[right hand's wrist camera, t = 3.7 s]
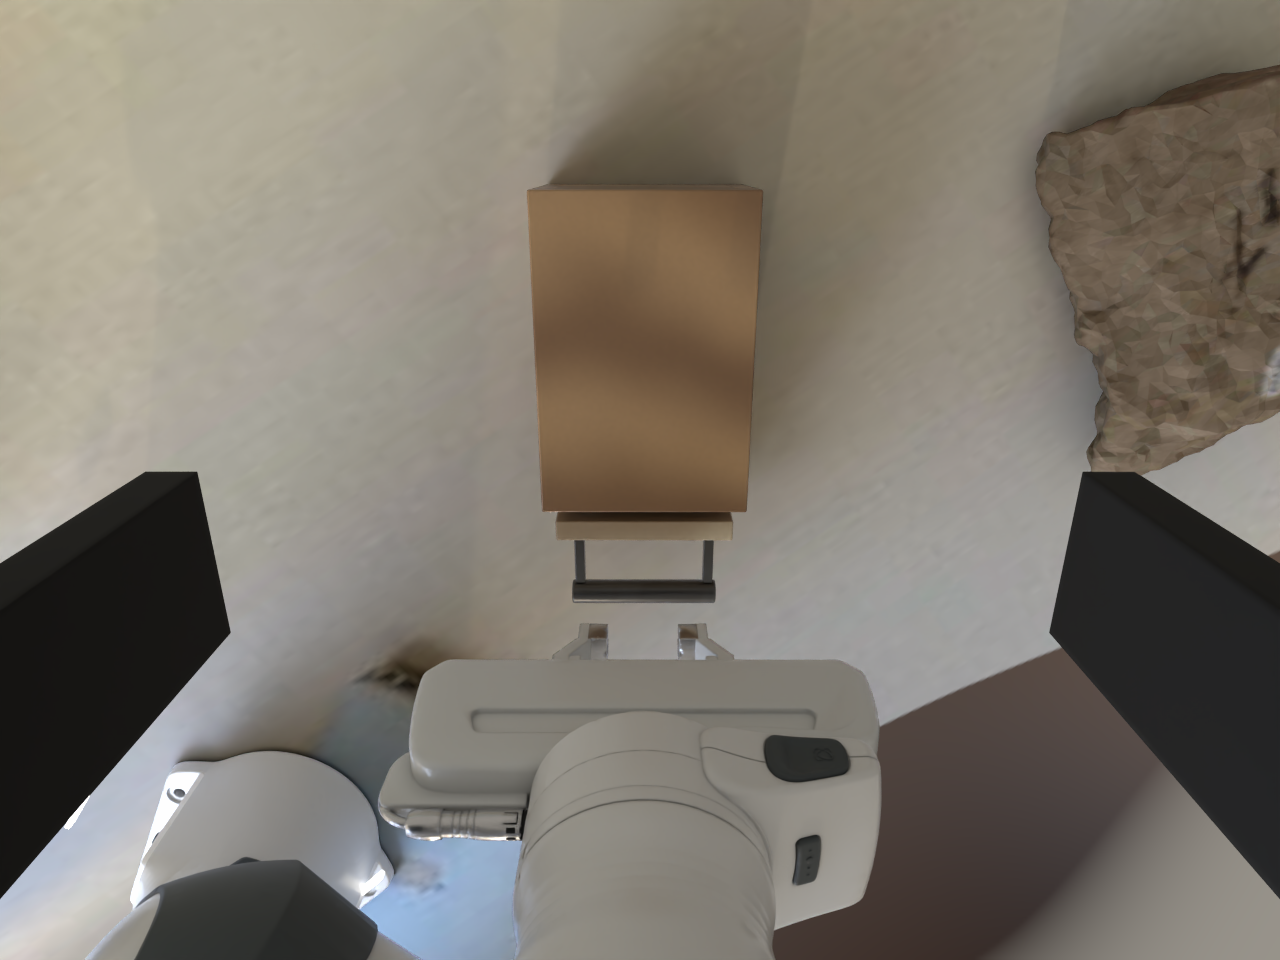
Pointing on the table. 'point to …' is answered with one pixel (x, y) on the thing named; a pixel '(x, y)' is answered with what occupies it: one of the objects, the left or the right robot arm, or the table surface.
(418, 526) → the table surface
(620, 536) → the drawer
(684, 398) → the cabinet
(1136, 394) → the stone
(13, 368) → the table surface
